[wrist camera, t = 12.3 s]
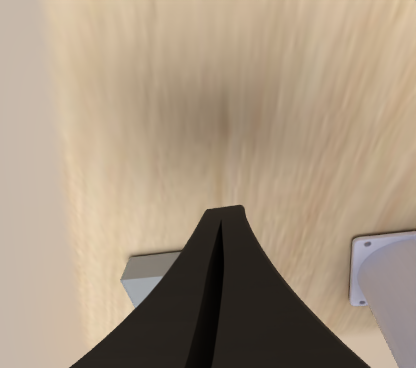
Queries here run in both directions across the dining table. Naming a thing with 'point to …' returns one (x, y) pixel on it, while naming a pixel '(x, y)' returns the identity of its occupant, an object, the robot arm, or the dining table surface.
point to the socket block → (145, 274)
